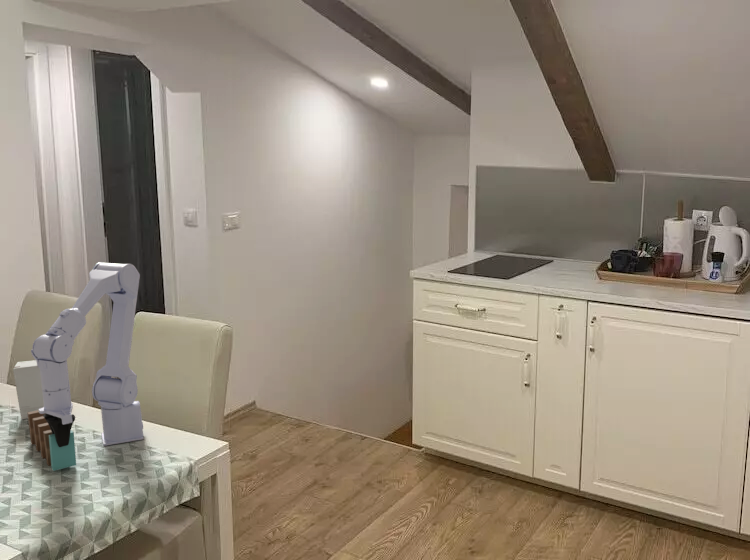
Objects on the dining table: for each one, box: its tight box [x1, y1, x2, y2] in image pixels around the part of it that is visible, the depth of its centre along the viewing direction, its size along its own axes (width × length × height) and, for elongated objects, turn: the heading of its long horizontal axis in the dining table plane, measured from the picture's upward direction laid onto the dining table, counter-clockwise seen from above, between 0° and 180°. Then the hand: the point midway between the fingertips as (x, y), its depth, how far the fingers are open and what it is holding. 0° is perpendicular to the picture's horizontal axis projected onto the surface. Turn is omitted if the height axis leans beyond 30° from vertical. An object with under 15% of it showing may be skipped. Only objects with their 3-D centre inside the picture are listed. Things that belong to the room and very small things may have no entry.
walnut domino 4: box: [43, 430, 52, 467], centre depth 178 cm, size 2×5×8 cm, turn 127°
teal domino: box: [49, 429, 77, 472], centre depth 174 cm, size 2×5×8 cm, turn 127°
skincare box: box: [12, 359, 44, 420], centre depth 207 cm, size 8×6×15 cm
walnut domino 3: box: [38, 423, 51, 460], centre depth 182 cm, size 2×5×8 cm, turn 127°
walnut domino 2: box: [32, 416, 48, 453], centre depth 186 cm, size 2×5×8 cm, turn 127°
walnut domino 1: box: [27, 410, 46, 446], centre depth 190 cm, size 2×5×8 cm, turn 127°
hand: (62, 444), depth 174 cm, fingers closed on teal domino, 1 cm apart
